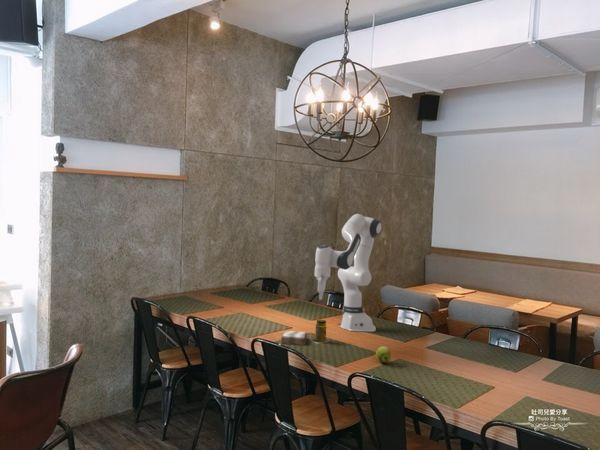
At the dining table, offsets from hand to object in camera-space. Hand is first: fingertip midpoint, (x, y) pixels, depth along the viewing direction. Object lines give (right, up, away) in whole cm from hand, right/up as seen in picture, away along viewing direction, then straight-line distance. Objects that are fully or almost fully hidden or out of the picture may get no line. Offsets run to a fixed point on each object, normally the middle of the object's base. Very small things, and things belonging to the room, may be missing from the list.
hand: (321, 297), depth 284 cm
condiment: (-1, -25, +1) cm, 25 cm away
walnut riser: (-15, -25, -1) cm, 29 cm away
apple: (+30, -28, -32) cm, 52 cm away
